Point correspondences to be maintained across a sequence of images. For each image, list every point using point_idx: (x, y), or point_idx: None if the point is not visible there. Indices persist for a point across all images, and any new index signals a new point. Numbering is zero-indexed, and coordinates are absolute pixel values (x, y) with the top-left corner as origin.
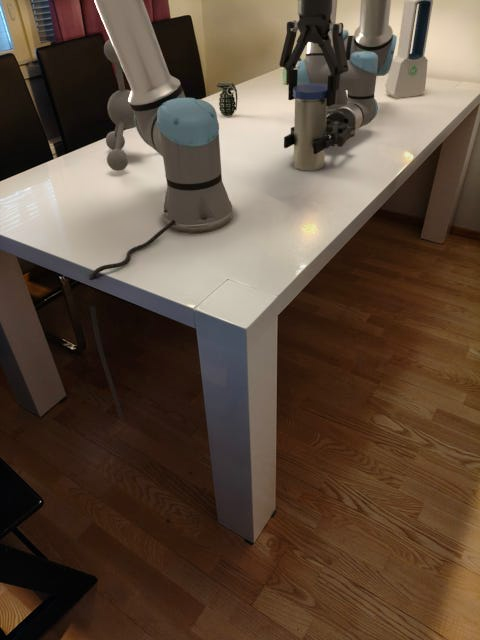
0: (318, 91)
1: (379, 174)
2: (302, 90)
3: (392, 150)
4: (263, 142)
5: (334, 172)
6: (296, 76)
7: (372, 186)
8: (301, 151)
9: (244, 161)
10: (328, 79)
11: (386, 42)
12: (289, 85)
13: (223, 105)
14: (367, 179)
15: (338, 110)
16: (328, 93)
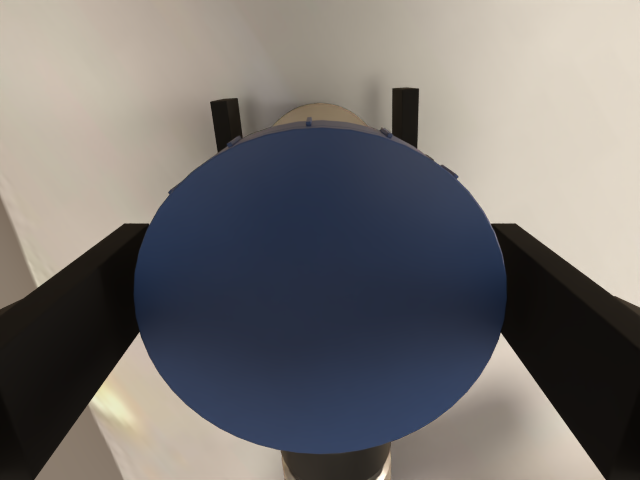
0: (172, 236)
1: (64, 227)
2: (343, 192)
3: (172, 415)
4: (611, 269)
5: (195, 156)
6: (566, 400)
7: (3, 117)
8: (314, 108)
9: (584, 44)
10: (7, 332)
11: None
12: (568, 271)
13: None
14: (62, 164)
15: (336, 456)
16: (85, 260)
